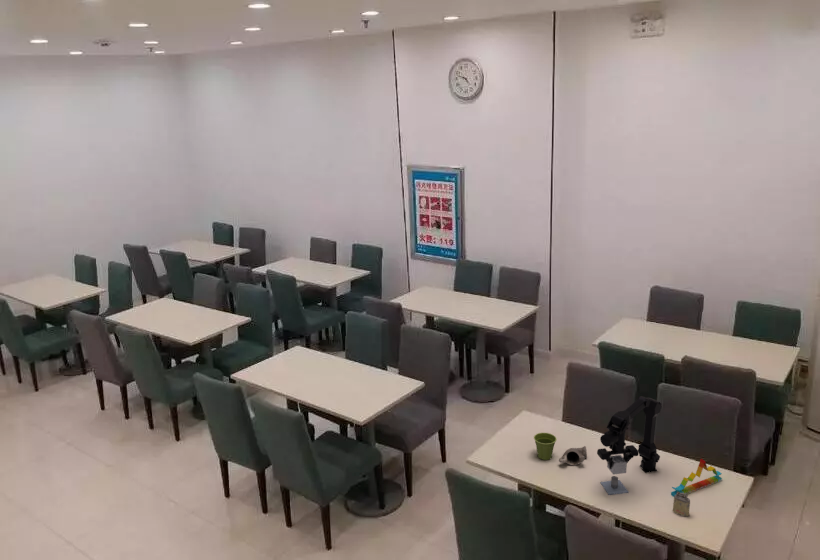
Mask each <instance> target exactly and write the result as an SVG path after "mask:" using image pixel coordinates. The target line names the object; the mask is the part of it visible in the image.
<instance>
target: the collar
mask: <svg viewBox="0 0 820 560" xmlns="http://www.w3.org/2000/svg"><path fill="white" fill-rule="evenodd" d="M611 458H612V466H611V469H609V466H608V463H607V462H606V463H607V465H606V467H607V469H608V470H609V471H610V472H611V474H612V476H615V475H620V474H621V475H622V474H626V473H627V468H628V466H627V465H628V463H627V462H626V460H625V459H624V458H623V455H622V454H617V455H611Z"/></svg>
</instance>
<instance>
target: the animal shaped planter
mask: <svg viewBox="0 0 820 560" xmlns="http://www.w3.org/2000/svg"><path fill="white" fill-rule="evenodd" d="M587 457H588V452H587V446H585V445H584V446H581V447H570V448H568V449H566V450H565V452H563V454H562V456H561V457H560V458H558V462H559V463H560V464H564V463H565V464H567V465H569V466H576V465H579V464H581V463H583V462H584V461H585V459H587Z"/></svg>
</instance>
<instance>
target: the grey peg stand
mask: <svg viewBox="0 0 820 560" xmlns="http://www.w3.org/2000/svg"><path fill="white" fill-rule="evenodd" d="M599 483H600V485H601V486H602V488H603V489H604V490H605V492H606V493H607V494H608V496H612V495H622V494H628V493H629V492H630V491H629V490H628V489H627V488H626V486H625V485H624V484H623V483H622V481H621V480H620V479H619V477H618V476H616V475H612V476H611V479H610V480H605V481H600V482H599Z"/></svg>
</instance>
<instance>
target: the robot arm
mask: <svg viewBox="0 0 820 560" xmlns="http://www.w3.org/2000/svg"><path fill="white" fill-rule="evenodd" d="M661 410H662V403H661V401H658V400H657V399H653V398H651V397H645V396H641V395H640V396H639V397H637V399H636V400H635V401H633V403H631V404H630V405H628V407H626V408H625V409H624V410H620V411H617V412H616V413H613V415H612V416H611V417H610V419H609V421H608V423H607V426H606V429H607V430H608V431H605V432H604V434H602V435H601V436H600V439H599V440H600V444H602V445H603V446H604V448H598V449H597V451H596V454H597V455H598V457H599V458H600V459H601V460H602V461H604V460H605V461H606V463H608V466H609V469H611V466H612V458H611V456H614V455H622V457H623V458H624V459H625V460H626V462H627V464H628V463H629V462H630V460H631V459H633V458H634V457H637V456H639V457H641V460H640V465H639V467H640V468H641V469H642V470H643V472H645V473H655V472H658V469H657V463H658V462H659V461H660V458H661V456H660V455H659V454H658V451H657V446H656V444H655V432H656V425H657V424H656V423H657V417H658V415H659V414H660V413H661V412H662V411H661ZM642 411H643V413H644V415H645V421H644V429H643V441H642V442H641V443H640V444H638V449H637V448H636V447H635V445H633V444H631V445H627V443H626V431H627V430H628V429H629V427H628V426H629V425H631V420H632V419H633V418H635V416H637V415H638V414H639V413H641V412H642ZM613 425H614V426H613ZM605 447H606V448H609V449H610V450H607V449H606V448H605ZM609 469H608V470H609Z"/></svg>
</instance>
